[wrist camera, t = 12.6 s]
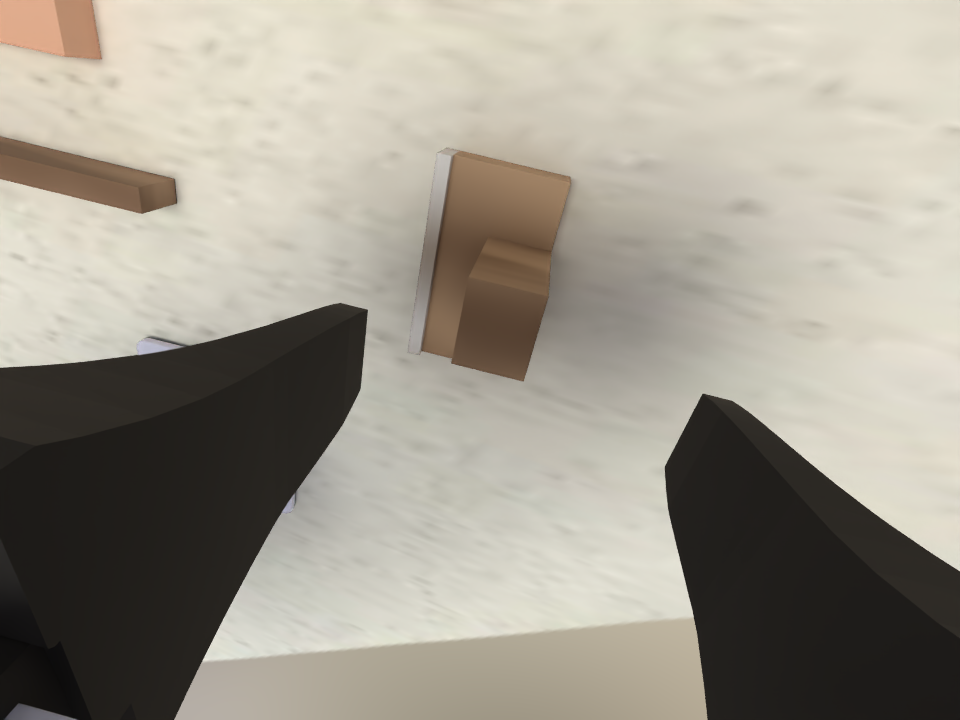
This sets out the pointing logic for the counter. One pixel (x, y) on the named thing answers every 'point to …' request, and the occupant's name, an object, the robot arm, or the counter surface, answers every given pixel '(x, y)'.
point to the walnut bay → (84, 177)
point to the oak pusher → (486, 262)
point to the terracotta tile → (51, 26)
